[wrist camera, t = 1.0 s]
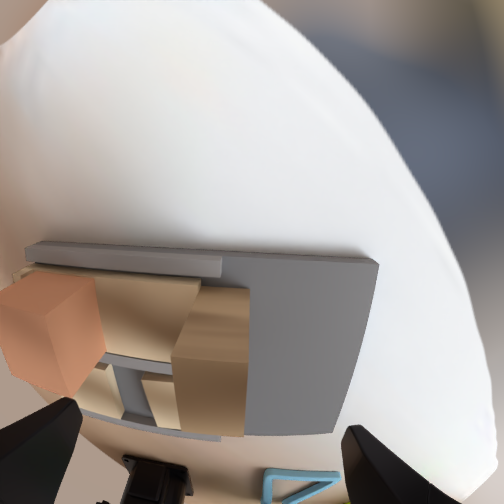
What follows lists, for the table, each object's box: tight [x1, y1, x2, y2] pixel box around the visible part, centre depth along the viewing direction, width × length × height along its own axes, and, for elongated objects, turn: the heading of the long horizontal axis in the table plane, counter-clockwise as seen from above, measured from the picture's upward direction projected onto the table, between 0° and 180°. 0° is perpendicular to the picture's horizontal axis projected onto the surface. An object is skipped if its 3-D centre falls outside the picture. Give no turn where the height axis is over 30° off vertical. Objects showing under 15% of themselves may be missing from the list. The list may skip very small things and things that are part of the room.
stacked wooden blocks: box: [12, 263, 250, 437], centre depth 11 cm, size 5×13×6 cm, turn 87°
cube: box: [0, 271, 107, 398], centre depth 11 cm, size 4×4×4 cm
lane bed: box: [25, 241, 379, 442], centre depth 15 cm, size 13×20×2 cm, turn 87°
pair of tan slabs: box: [61, 362, 181, 430], centre depth 15 cm, size 5×11×1 cm, turn 87°
